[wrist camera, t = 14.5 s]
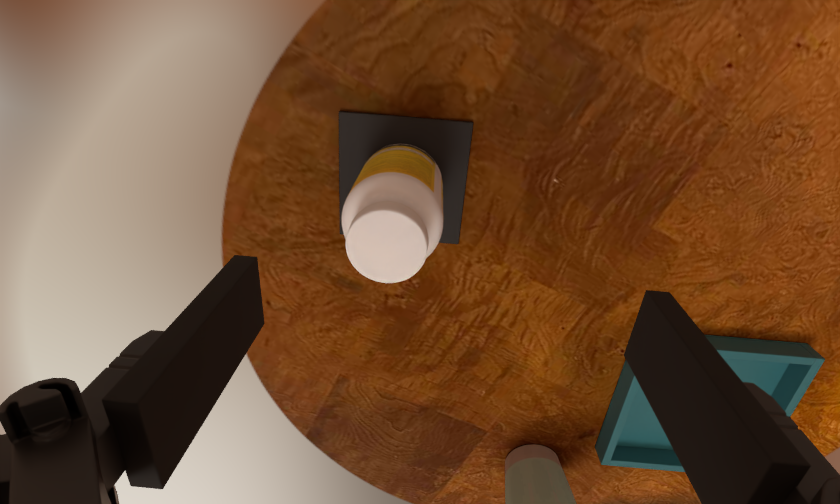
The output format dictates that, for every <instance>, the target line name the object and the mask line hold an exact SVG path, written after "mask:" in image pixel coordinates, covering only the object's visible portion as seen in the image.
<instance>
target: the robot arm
mask: <svg viewBox="0 0 840 504" xmlns="http://www.w3.org/2000/svg"><path fill="white" fill-rule="evenodd" d="M263 325H264V315H263V306H262V297H261V288H260V279H259V270H258V261H257V257H250V256H239V255H234V257H233V258H232V259H231V260H230V261H229V262H228V263H227V264H226V265H225V266H224V267H223V268H222V270H221V271H220V272H219V273H218V274H217V275H216V276H215V277H214V278H213V279H212V281H211V282H210V283H209V284H208V285H207V286H206V287H205V288H204V289H203V290H202V291H201V293H199V295H198V296H197V297H196V298H195V299H194V300H193V301H192V302H191V303H190V305H188V306H187V308H186V309H185V310H184V311H183V312H182V313H181V314H180V315H179V316H178V317H177V318H176V320H175V321H174V322H173V323H172V324H171V325H170V326H169V327H168V328H167V329H166V330H165V331H154V330H151V331H149V332H147V333H146V334H144V335H142V336H141V337H139V338H137V339H135V340H134V341H132V342H131V343H130V344H129V345H128V346H127V347H126V348H125V349H124V350H123V351H122V352H121V353H120V356H119V357H116V358H115V359H114V361H112V362H111V364H109V368H106V369H105V370H104V371H102V372H101V374H99V376H98V377H96V379H95V380H94V381H93V382H92V383H91V384H90V385H89V386H88V387H87V388H86V389H85V390H84V391H83V392H82V393H80V391H79V388H78V386H77V384H76V383H75V381H72V380H69V379H66V378H51V379H47V380H42V381H38V382H36V383H33V384H31V385H28V386H25V387H23V388H22V389H20V390H18V391H17V392H15V393H13V394H12V395H10V396H9V397H8V398H7V399H6V400H5V401H4V402H3V403H2V404H1V405H0V422H1V424H2V426H3V428H4V429H5V432H6V434H4V435H0V504H119V501H118V495H117V491H116V489H115V486H114V484H115V483H116V482H117V480H118V479H119V478H120V476H121V475H122V473H123V472H124V471H125V470H126V473H127V476H128V479H129V482H130V485H131V486H137V487H146V488H156V489H157V488H158V489H163V488H164V486H165V484H166V483H167V481H168V480H169V478H170V476H171V475H172V473H173V471H174V470H175V468H176V467H177V465H178V463H179V462H180V460H181V458H182V457H183V455H184V453H185V452H186V450H187V449H188V447H189V445H190V444H191V442H192V440H193V439H194V437H195V436H196V434H197V432H198V431H199V429H200V427H201V426H202V424H203V423H204V421H205V419H206V418H207V416H208V414H209V413H210V411H211V410H212V408H213V406H214V405H215V403H216V401H217V400H218V398H219V396H220V395H221V393H222V391H223V390H224V388H225V387H226V385H227V383H228V382H229V380H230V379H231V377H232V375H233V374H234V372H235V370H236V369H237V367H238V366H239V364H240V362H241V360H242V359H243V357H244V356H245V354H246V353H247V351H248V349H249V348H250V346H251V344H252V343H253V341H254V340H255V338H256V336H257V335H258V333H259V331H260V330H261V328H262V326H263ZM624 356H625V358H626V360H627V362H628V364H629V366H630V368H631V370H632V372H633V373H634V375H635V377H636V379H637V381H638V383H639V385H640V387H641V389H642V391H643V393H644V394H645V396H646V398H647V400H648V402H649V404H650V406H651V408H652V410H653V412H654V413H655V415H656V417H657V419H658V421H659V423H660V425H661V427H662V429H663V431H664V432H665V434H666V436H667V438H668V440H669V442H670V444H671V446H672V448H673V450H674V452H675V453H676V455H677V457H678V459H679V461H680V463H681V465H682V467H683V469H684V471H685V472H686V474H687V476H688V478H689V480H690V482H691V484H692V486H693V488H694V490H695V492H696V493H697V495H698V497H699V499H700V501H701V503H702V504H840V475H839V474H838V472H837V471H836V470H835V469H834V468H833V467H832V466H831V464H830V463H829V462H828V461H827V460H826V459H825V457H824V456H823V455H822V454H821V453H820V452H819V450H818V449H817V448H816V447H815V446H814V445H813V443H812V442H811V441H810V440H809V439H808V438H807V436H806V435H805V434H804V433H803V432H802V431H801V430H798V426H797V425H796V424H795V423H794V421H793V420H792V419H791V418H790V417H789V416H786V412H785V411H784V410H783V409H782V408H781V406H780V405H779V404H778V403H777V402H776V401H775V399H774V398H773V397H772V396H770V395H769V394H768V393H766V392H765V391H763V390H762V389H761V388H759V387H758V386H757V385H755V384H754V383H749V382H742V381H741V379H740V378H739V377H738V376H737V375H736V373H735V372H734V371H733V370H732V368H731V367H730V366H729V365H728V364H727V362H726V361H725V360H724V359H723V357H722V356H721V355H720V354H719V352H718V351H717V350H716V349H715V348H714V346H713V345H712V344H711V343H710V341H709V340H708V339H707V338H706V337H705V335H704V334H703V333H702V332H701V330H700V329H699V328H698V327H697V326H696V324H695V323H694V322H693V321H692V319H691V318H690V317H689V316H688V314H687V313H686V312H685V311H684V310H683V308H682V307H681V306H680V305H679V303H678V302H677V301H676V300H675V299H674V297H673V296H672V295H671V294H670V292H660V291H648V290H646V292H645V295H644V298H643V301H642V304H641V307H640V310H639V313H638V316H637V319H636V322H635V325H634V327H633V330H632V333H631V336H630V339H629V342H628V345H627V348H626V351H625V354H624Z"/></svg>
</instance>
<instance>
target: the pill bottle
mask: <svg viewBox="0 0 840 504" xmlns="http://www.w3.org/2000/svg"><path fill="white" fill-rule="evenodd" d="M341 219H342V229H343V233H344V236H345V238H346V252H347V255H348V258H349V260H350V262H351V263H352V265H353V266H354V267H355V269H356V270H357V271H358V272H360V273H361V274H362V275H364V276H365V277H367V278H369V279H371V280H374V281H377V282H382V283H396V282H400V281H404V280H406V279H408V278H410V277H412V276H413V275H414V274H416V273H417V272H418V271H419V270H420V268H421V267H422V265H423V264H424V262H425V259H426V258H427V257H428V256H429V255H430V254H431V253H432V252H433V251H434V249H435V248H436V246H437V245H438V243H439V240H440V238H441V235H442V230H443V181H442V176H441V172H440V170H439V168H438V166H437V164H436V162H435V161H434V160H433V158H432V157H431V156H430V155H429V154H427V153H426V152H425V151H423V150H422V149H420V148H418V147H415V146H412V145H408V144H393V145H389V146H386V147H383V148H381V149H379V150H378V151H376V152H375V153H374V154H373V155H371V157H370V158H369V159H368V160H367V162H366V163H365V165H364V166H363V168H362V170H361V172H360V174H359V176H358V178H357V180H356V181H355V183H354V185H353V187H352V189H351V191H350V193H349V195H348V196H347V198H346V201H345V203H344V206H343V210H342V218H341Z"/></svg>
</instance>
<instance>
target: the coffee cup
mask: <svg viewBox="0 0 840 504" xmlns="http://www.w3.org/2000/svg"><path fill="white" fill-rule="evenodd" d="M505 501H506V504H576V501H575V499H574V496H573V494H572V491H571V489H570V486H569V484H568V481H567V479H566V476H565V474H564V471H563V469H562V467H561V464H560V462H559V459H558V457H557V455H556V454H555V452H554V451H552V450H551V449H550V448H548V447H545V446H542V445H535V444H531V445H524V446H521V447H518V448H516V449H514V450H513V451H512V452H510V453H509V455H508V456H507V458H506V460H505Z"/></svg>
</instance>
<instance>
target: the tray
mask: <svg viewBox="0 0 840 504" xmlns="http://www.w3.org/2000/svg"><path fill="white" fill-rule="evenodd" d="M705 337H706V338H707V339H708V340H709V341H710V343H711V344H712V345H713V346H714V348H715V349H716V350H717V351H718V352H719V354H720V355H721V356H722V357H723V359H724V360H725V361H726V362H727V364H728V365H729V366H730V367H731V368H732V370H733V371H734V372H735V373H736V375H737V376H738V377H739V378H740V379H741V381H742V382H749V383H754V384H755V385H757V386H758V387H759V388H761V389H762V390H763V391H765V392H766V393H768V394H769V395H770V396H772V397H773V398H774V399H775V401H776V402H777V403H778V404H779V405H780V406H781V408H782V409H783V410H784V411H785V412H786V416H789V417H790V416H791V415H792V413H793V411H794V410H795V408H796V406H797V405H798V403H799V401H800V400H801V398H802V397H803V395H804V393H805V392H806V390H807V388H808V387H809V385H810V383H811V382H812V380H813V378H814V377H815V375H816V374H817V372H818V370H819V369H820V367H821V365H822V364H823V362H824V360H825V359H824V358H823V357H822V356H821V355H820V354H819V353H817V352H816V351H815V350H814V349H813V348H812V347H811V346H809V345H808V344H807V343H796V342H784V341H772V340H761V339H749V338H737V337H726V336H714V335H705ZM595 449H596V451H597V454H598V457H599V459H600V462H601V464H602V465H611V466H622V467H634V468H645V469H656V470H668V471H679V472H685V471H684V469H683V467H682V465H681V463H680V461H679V459H678V457H677V455H676V453H675V452H674V450H673V448H672V446H671V444H670V442H669V440H668V438H667V436H666V434H665V432H664V431H663V429H662V427H661V425H660V423H659V421H658V419H657V417H656V415H655V413H654V412H653V410H652V408H651V406H650V404H649V402H648V400H647V398H646V396H645V394H644V393H643V391H642V389H641V387H640V385H639V383H638V381H637V379H636V377H635V375H634V373H633V372H632V370H631V368H630V366H629V364H628V362H627V360H626V361H625V364H624V366H623V369H622V372H621V375H620V378H619V380H618V383H617V386H616V389H615V392H614V394H613V397H612V400H611V403H610V406H609V409H608V411H607V414H606V417H605V420H604V423H603V425H602V428H601V431H600V434H599V437H598V440H597V442H596V445H595Z"/></svg>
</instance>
